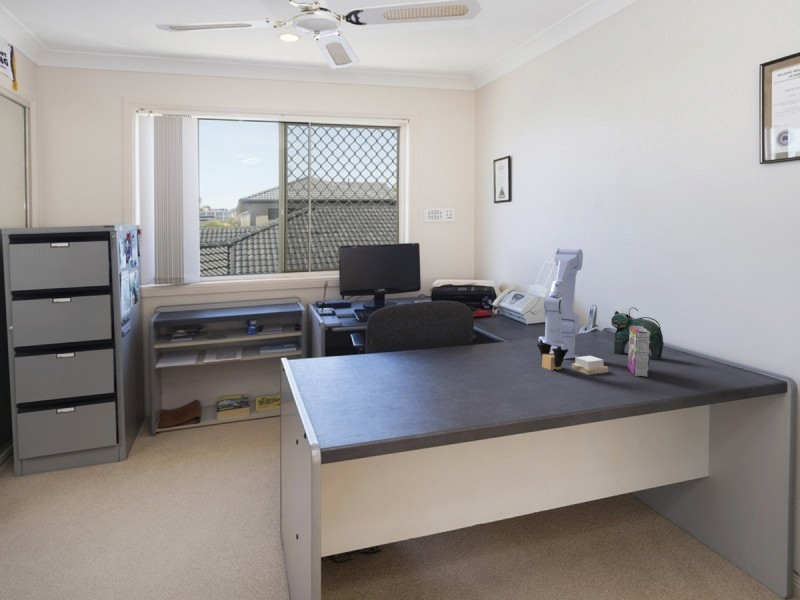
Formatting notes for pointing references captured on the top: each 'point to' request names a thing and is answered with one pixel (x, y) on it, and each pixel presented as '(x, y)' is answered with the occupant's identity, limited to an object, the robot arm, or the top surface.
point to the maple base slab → (590, 369)
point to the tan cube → (549, 361)
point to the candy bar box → (639, 351)
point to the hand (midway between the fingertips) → (551, 364)
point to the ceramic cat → (623, 329)
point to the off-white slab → (589, 361)
